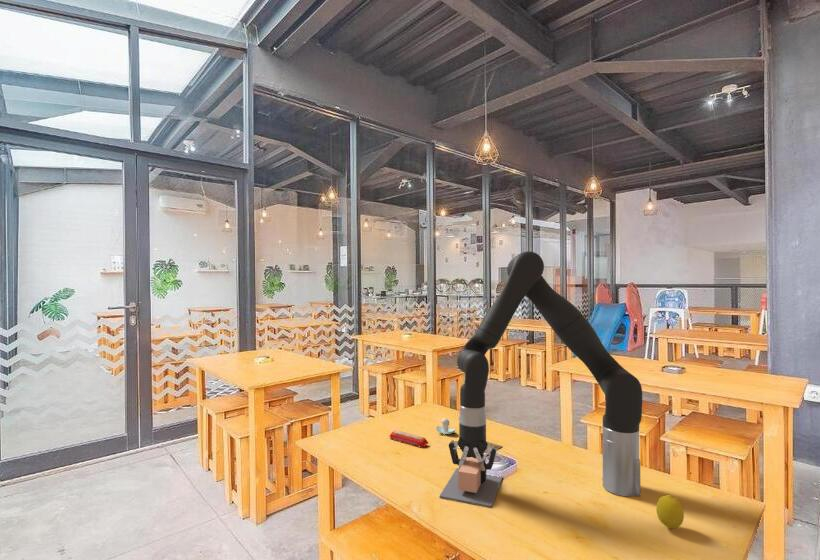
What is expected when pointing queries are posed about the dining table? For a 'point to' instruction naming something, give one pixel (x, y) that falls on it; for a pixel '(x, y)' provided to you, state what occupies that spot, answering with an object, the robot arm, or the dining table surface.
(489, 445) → the mottled brown square tile
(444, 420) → the pacifier
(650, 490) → the dining table surface
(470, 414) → the robot arm
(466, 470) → the block
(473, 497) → the mat
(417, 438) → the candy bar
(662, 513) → the lemon
